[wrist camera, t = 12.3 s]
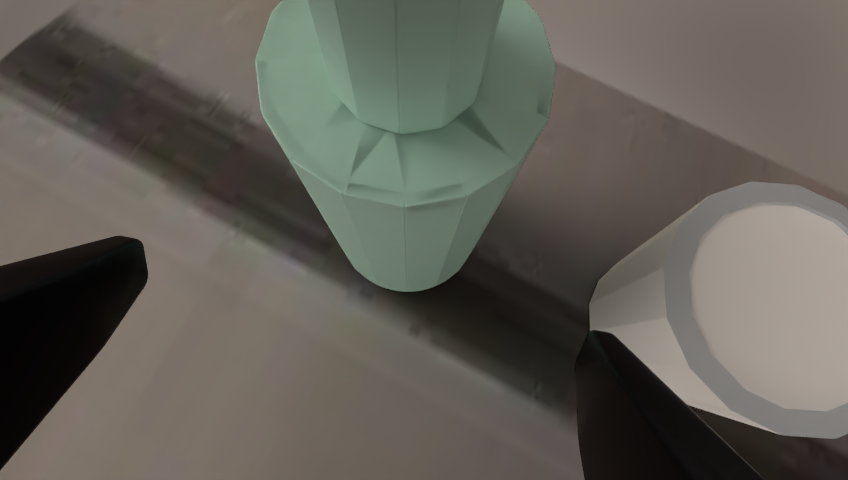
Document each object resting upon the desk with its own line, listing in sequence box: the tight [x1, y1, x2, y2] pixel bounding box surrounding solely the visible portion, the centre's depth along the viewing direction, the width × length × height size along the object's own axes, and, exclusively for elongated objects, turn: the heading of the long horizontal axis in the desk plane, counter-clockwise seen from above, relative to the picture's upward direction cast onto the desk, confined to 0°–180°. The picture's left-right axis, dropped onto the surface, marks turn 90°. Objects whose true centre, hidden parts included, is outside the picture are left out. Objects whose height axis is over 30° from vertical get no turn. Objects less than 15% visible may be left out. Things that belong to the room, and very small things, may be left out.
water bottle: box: [255, 0, 556, 292], centre depth 13 cm, size 6×6×14 cm
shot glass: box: [589, 182, 848, 439], centre depth 16 cm, size 7×7×7 cm
